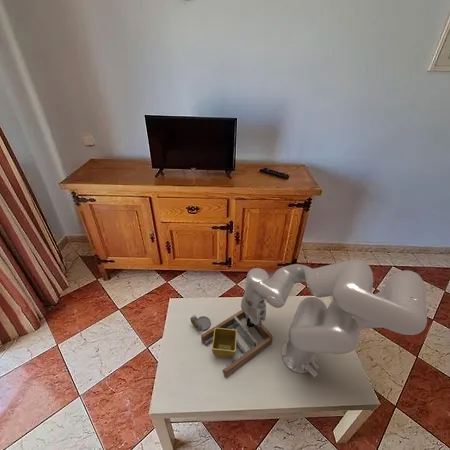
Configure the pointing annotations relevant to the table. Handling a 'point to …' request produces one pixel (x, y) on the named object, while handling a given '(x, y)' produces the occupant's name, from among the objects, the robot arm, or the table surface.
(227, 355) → the flower pot
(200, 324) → the pocket watch
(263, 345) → the frame
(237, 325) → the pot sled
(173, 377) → the table surface
